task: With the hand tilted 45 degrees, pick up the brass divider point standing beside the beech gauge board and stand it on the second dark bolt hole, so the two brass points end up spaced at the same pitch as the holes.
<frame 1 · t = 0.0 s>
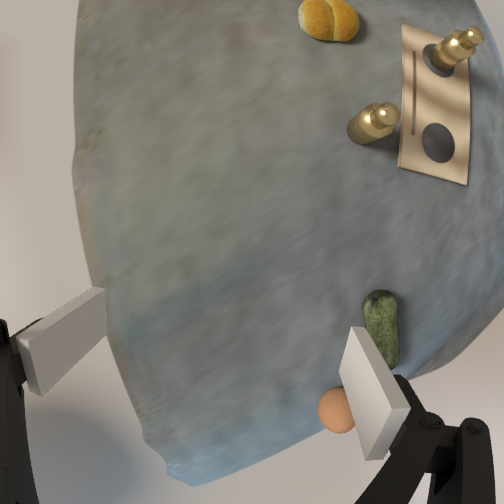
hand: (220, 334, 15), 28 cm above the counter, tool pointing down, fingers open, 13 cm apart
moving point: (360, 130, 38), on the counter
egg: (334, 392, 47), on the counter
bread roll: (326, 23, 35), on the counter
vegetable: (377, 326, 44), on the counter
gauge board: (436, 101, 36), on the counter
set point: (439, 60, 33), point 1 cm above the counter, touching gauge board
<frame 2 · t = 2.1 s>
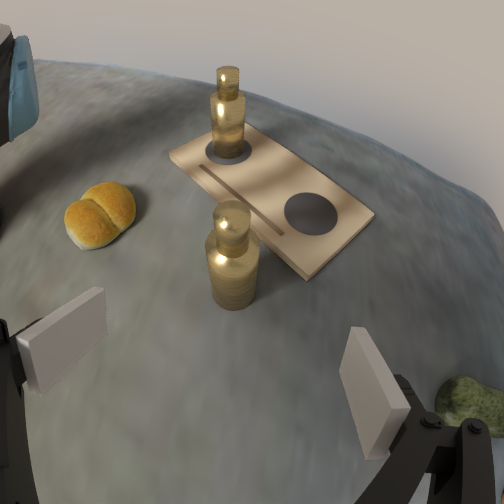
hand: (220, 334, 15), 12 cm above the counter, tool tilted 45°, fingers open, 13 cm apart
moving point: (233, 291, 30), on the counter
bread roll: (102, 223, 34), on the counter
vegetable: (472, 414, 23), on the counter
gauge board: (265, 185, 37), on the counter
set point: (228, 149, 39), point 1 cm above the counter, touching gauge board
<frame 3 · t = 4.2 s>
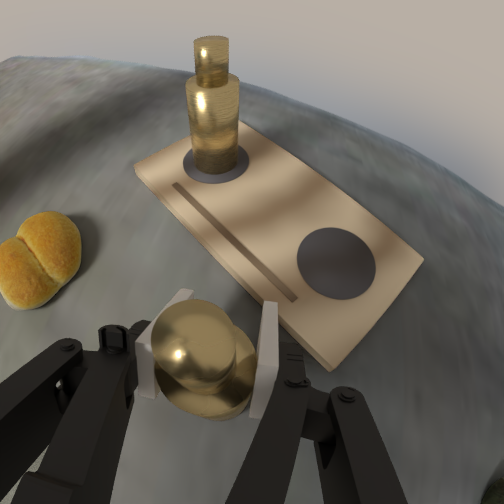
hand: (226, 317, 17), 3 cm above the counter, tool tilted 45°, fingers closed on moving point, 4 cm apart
moving point: (218, 390, 18), on the counter, touching gripper
bread roll: (42, 269, 22), on the counter
gauge board: (269, 214, 26), on the counter
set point: (215, 159, 27), point 1 cm above the counter, touching gauge board
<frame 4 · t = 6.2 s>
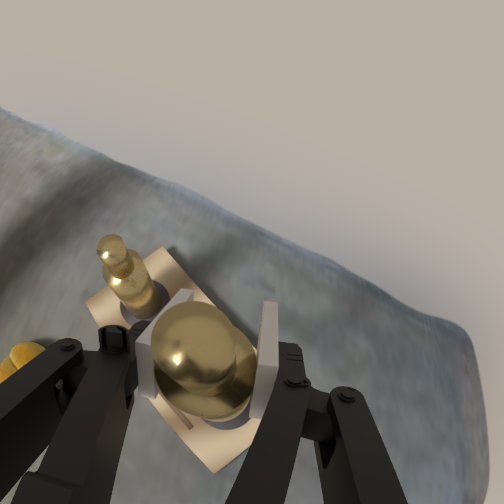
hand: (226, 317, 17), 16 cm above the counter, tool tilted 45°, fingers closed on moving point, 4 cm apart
moving point: (218, 391, 18), point 13 cm above the counter, touching gripper
bread roll: (32, 379, 28), on the counter
gauge board: (183, 353, 32), on the counter
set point: (144, 303, 33), point 1 cm above the counter, touching gauge board
when the fingers open (5 cm above the counter, at t = 8.4 s): moving point stays where it is, resting on gauge board.
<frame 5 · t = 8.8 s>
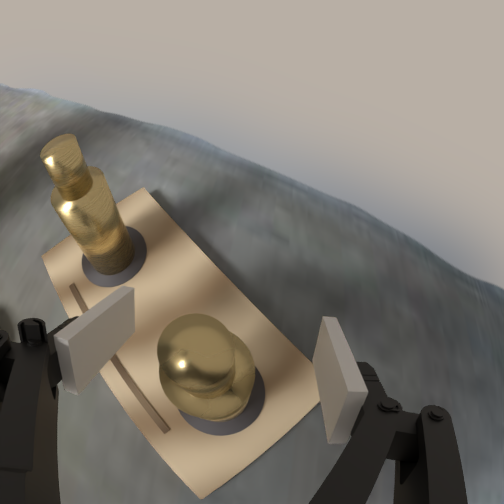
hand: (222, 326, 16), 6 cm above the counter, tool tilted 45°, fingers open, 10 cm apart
moving point: (218, 393, 19), point 1 cm above the counter, touching gauge board
gauge board: (160, 322, 22), on the counter
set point: (112, 254, 24), point 1 cm above the counter, touching gauge board
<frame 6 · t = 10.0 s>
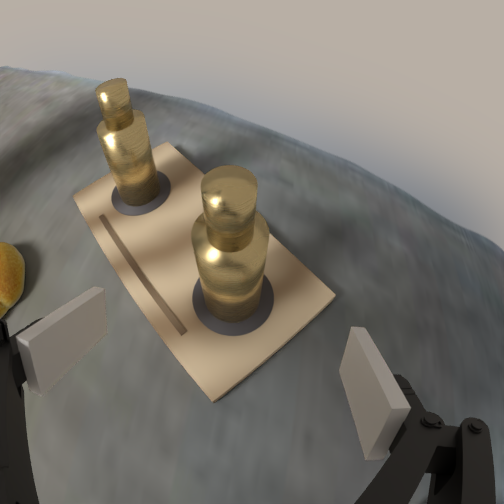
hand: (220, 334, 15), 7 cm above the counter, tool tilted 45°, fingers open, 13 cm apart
moving point: (232, 297, 23), point 1 cm above the counter, touching gauge board
gauge board: (181, 245, 26), on the counter
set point: (140, 190, 28), point 1 cm above the counter, touching gauge board
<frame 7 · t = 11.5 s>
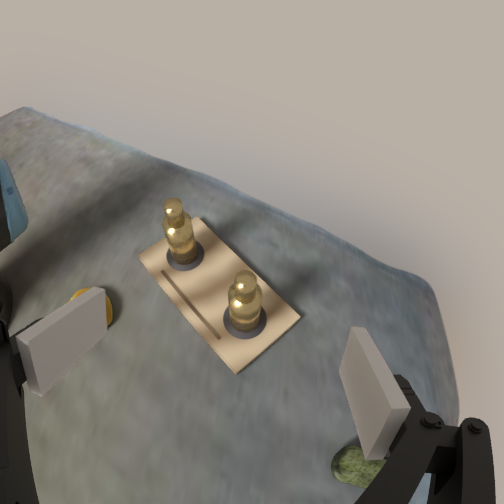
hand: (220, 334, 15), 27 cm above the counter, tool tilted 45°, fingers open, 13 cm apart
moving point: (244, 319, 42), point 1 cm above the counter, touching gauge board
bread roll: (89, 318, 43), on the counter
vegetable: (371, 472, 32), on the counter
gauge board: (213, 288, 46), on the counter
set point: (185, 254, 48), point 1 cm above the counter, touching gauge board
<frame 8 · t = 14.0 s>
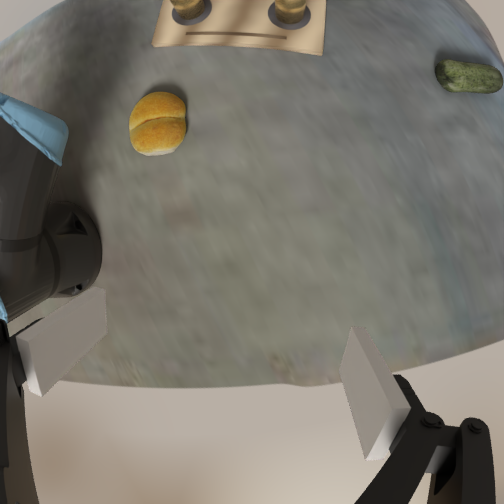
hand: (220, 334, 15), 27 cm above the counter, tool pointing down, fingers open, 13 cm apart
moving point: (289, 13, 33), point 1 cm above the counter, touching gauge board
bread roll: (161, 126, 39), on the counter
vegetable: (464, 81, 34), on the counter
gauge board: (240, 13, 34), on the counter
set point: (191, 9, 33), point 1 cm above the counter, touching gauge board
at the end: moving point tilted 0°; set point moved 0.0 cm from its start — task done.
